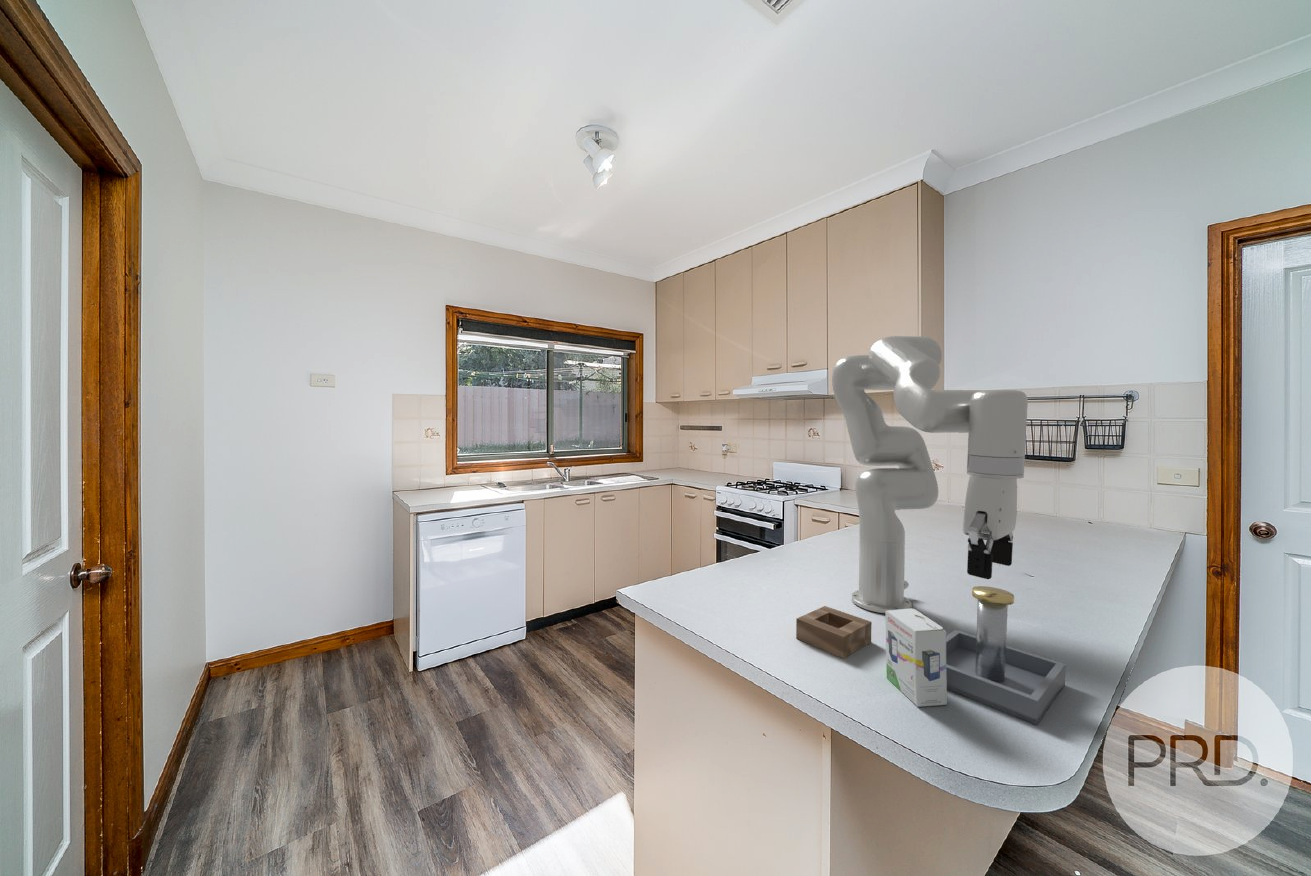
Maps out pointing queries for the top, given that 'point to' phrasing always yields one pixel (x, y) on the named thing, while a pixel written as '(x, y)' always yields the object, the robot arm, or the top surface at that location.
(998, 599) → the steel pin
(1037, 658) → the tray
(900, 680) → the ink box
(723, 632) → the top surface
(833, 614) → the block
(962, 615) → the top surface
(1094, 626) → the top surface
